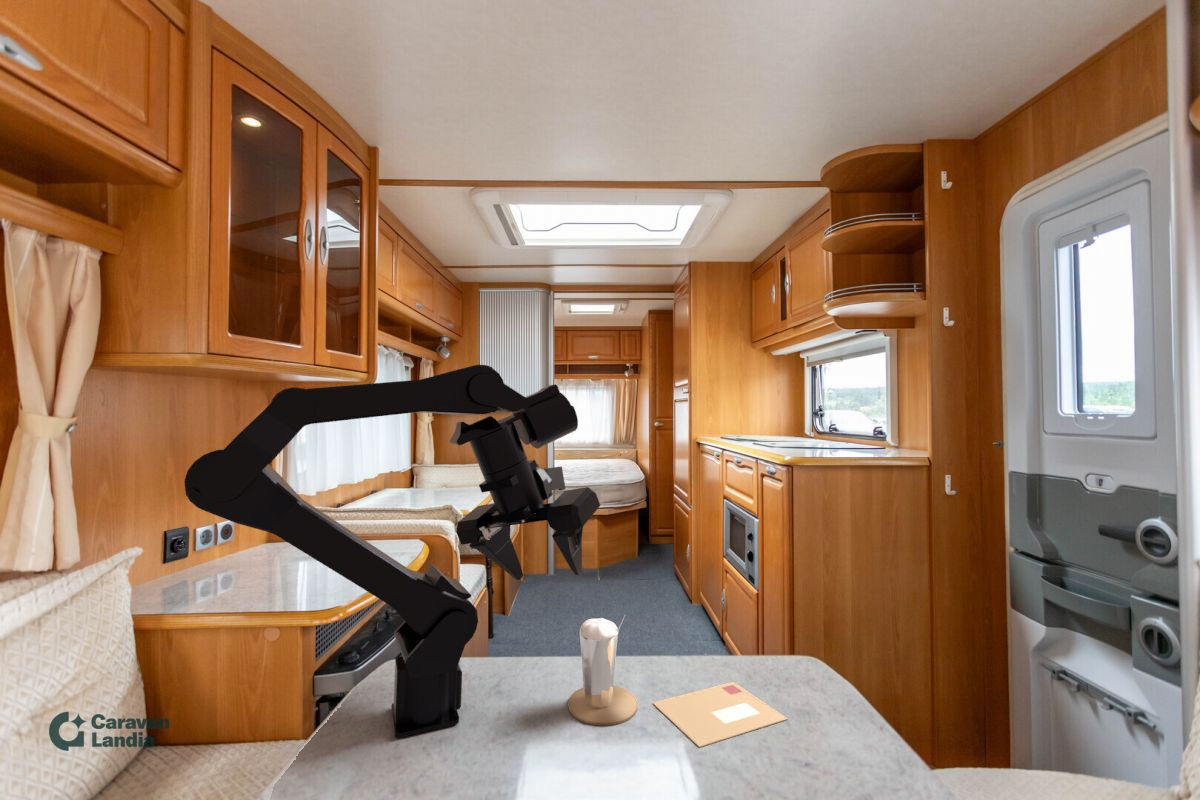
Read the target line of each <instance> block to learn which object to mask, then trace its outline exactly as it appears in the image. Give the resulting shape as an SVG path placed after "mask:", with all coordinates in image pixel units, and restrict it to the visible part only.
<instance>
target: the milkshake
mask: <svg viewBox="0 0 1200 800" xmlns="http://www.w3.org/2000/svg"><path fill="white" fill-rule="evenodd" d="M625 618H626V614H624V616H623V618H622V620H621V623H620V625H619V626H617V625H616V624H615V623H614V622H613V621H612V620H609V619H606V618H604V617H599V618H589V619H587V620H585V621H583V623H582V624H581V626H580V628H579V638H580V639H579V641H580V643H579V644H580V653H581V669H582V688H583V691H584V701H585V704H586V705H588V706H590V707H592V708H604V707H607V706H609V705H610V703H611V702H612V697H613V686H614V681H615V670H616V658H617V647H618V646H617V645H618V640H619V639H618V637H619V631H620V628H621V627H622V624H623V622H624V619H625Z"/></svg>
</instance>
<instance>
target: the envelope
mask: <svg viewBox="0 0 1200 800" xmlns="http://www.w3.org/2000/svg"><path fill="white" fill-rule="evenodd" d="M652 704H653V705H654V706H655V707H656V709H658V710H659V711H660V712H661V713H662V714H663V715H664V716H665V717H666V718H667V719H668V720H669V721H671V722H672V724H673V725H675V727H677V728H678V729H679V730H680V731H681V732H682V733H683V734H684V735H685V736H687V737H688V739H690V741H691V742H693V743H694V744H695V745H696V746H697V747H698V748H702V747H705V746H709V745H711V744H714V743H715V744H716V743H718V742H722V741H724V740H727V739H730V738H734V737H737V736H740V735H744V734H747V733H750V732H753V731H755V730H759V729H762V728H765V727H768V726H772V725H775V724H777V723H781V722H784V721H788V718H787V717H786V716H785V715H783V714H782V713H780V712H779V711H777V710H775V708H773V707H771V706H770V705H768V704H767V703H765V702H764V701H763V700H761V699H759V698H758V697H756V696H755V695H754V694H752V693H750V692H749V691H748V690H746V689H745V688H744V687H742V686H740V685H739V684H738V683H736V682H734V681H731V682H727V683H723V684H719V685H715V686H712V687H708V688H704V689H699V690H695V691H692V692H689V693H684V694H681V695H677V696H673V697H672V696H671V697H669V698H664V699H661V700H657V701H654V702H652Z"/></svg>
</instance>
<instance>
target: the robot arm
mask: <svg viewBox="0 0 1200 800" xmlns="http://www.w3.org/2000/svg"><path fill="white" fill-rule="evenodd" d="M509 412H510V413H511V412H512V414H510V415H508V416H505V417H503V418H501V419H496V418H495V417H493V416H491V415H489V416H486V417H484V418H482V419H480V420H477V421H474V422H472V423H470V424H468V423H467V422H465V421H458V422H456V426H455V430H454V432H453V434H452V436H451V437H450V438H449V442H450V444H452V445H457V446H463V445H464V444H467V443H469V444H470V448H471V449H472V452H473V454H474V456H475V459H476V462H477V465H478V467H479V469H480V471H481V474H482V476H483V479H484V480H483V481H482V482H481V483H480V484H479V485H478V486H479V489H480V492H481V493H487V492H489V493H490V497H491V499H492V501H493V503H488V504H482V505H477V506H476V507H474V508H473V510H471V511H469V512H468V513H467V514H466V515H464V516H463V517H462V518H460V520H459V521H457V525H456V530H455V533H456V535H457V538H458V540H459V543H460V544H461V545H468V544H469V545H468V546H469V548H470V549H472V550H477V551H478V552H479V553H481V554H482V555H484V556H485V557H487V558H488V559H489V560H491V561H492V562H493V563H494V564H496V565H497V566H498V567H500V568H501V569H503V571H504V572H506V573H507V574H509V575H510V576H511V577H512V578H513V579H514V580H516V581H521V579H522V578H523V577H524V573H523V568H522V566H521V562H520V560H519V557H518V555H517V552H516V549H515V547H514V544H513V541H512V539H511V526H516V525H522V524H523V525H524V524H529V523H537V522H542V521H543V522H544V521H547V523H548V525H549V527H550V528H551V529H552V530H554V531H555V532H554V533H552V535H551V537H552V539H553V542H555V544H556V546H557V548H558V549H559V551H560V553H561V555H562V557H563V558H564V560H565V562H566V563H567V565H568V566H569V569H570V570H571V571H572V573H573V574H574V576H576V577H577V576H580V574H582V570H583V531H584V526H585V525H586V523H587V522H588V521H589V520H590V519H591V518H592V516H593V515H594V514H595V513H596V512H597V510H599V508H600V506H601V502H600V501H599V497H598V495H597V493H596V491H595V490H593V489H592V488H590V487H589V486H585V487H580V488H575V489H574V488H573V489H567V488H566V484H565V483H566V482H565V478H564V473H563V466H554V467H546V468H540V466H539V463H538V462H537V461H536V459H532V460H531V459H530V460H529V459H528V456H527V454H526V451H525V448H524V445H526V446H528V445H531V446H532V447H533V448H535V449H537V450H538V449H540V448H542V447H544V446H546V445H549V444H551V443H553V442H555V441H557V440H559V439H561V438H564V437H566V436H567V435H569V434H571V433H573V432H576V431H577V430H578V427H579V420H578V415H577V411H576V408H575V406H574V405H572V404H571V402H570V401H569V399H568V398H567V397H566V395H564V393H562V392H561V391H560V389H559V387H558V385H557V384H556V383H554V384H549V385H547V386H545V387H543V388H541V389H539V390H538V391H537V392H535V393H534V392H533V393H532V394H529V395H526V396H524V395H523V394H521V393H520V392H518V391H516V390H515V389H513V388H512V387H510V386H508V385H507V384H506V383H504V380H503V378H502V376H501V375H500V373H499V372H498V371H497V370H495V368H493V366H490V365H487V364H474V365H472V366H471V365H470V366H467V367H464V368H459V369H455V370H450V371H447V372H444V373H440V374H437V375H432V376H429V377H424V378H422V379H421V378H420V379H415V380H414V379H413V380H401V381H400V380H399V381H398V380H397V381H387V382H376V383H375V382H374V383H363V384H362V383H361V384H350V385H339V386H326V387H313V388H301V387H294V386H293V387H288V388H284V389H282V390H281V391H278V392H277V393H276V394H275V396H274V397H273V398H272V399H271V402H270V403H269V404H268V405H267V407H265V408H264V409H263V410H262V412H260V413H259V414H258V415H257V416H256V417H255V418H254V419H252V421H251V422H250V423H249V424H248V425H247V426H245V427H244V428H243V429H242V430H241V432H239V433H238V434H237V435H235V438H233V439H232V440H231V442H230V443H229V444H227V445H226V446H225V447H224V448H219V449H216V450H213V451H210V452H208V453H206V454H203V455H202V456H200V457H199V458H197V459H196V460H194V462H193V463H192V464H191V465H190V467H189V468H188V470H187V471H186V475H185V477H184V489H185V490H184V491H185V495H186V497H187V499H188V500H189V501H190V503H191V504H193V505H194V506H195V507H196V508H198V509H199V510H201V511H204V512H206V513H209V514H211V515H215V516H217V517H219V518H222V519H225V520H227V521H229V522H232V523H235V524H238V525H241V526H245V527H249V528H252V529H257V530H260V531H262V532H266V533H269V534H272V535H275V536H276V537H278V538H280V539H281V540H282V541H285V542H287V544H289V545H291V546H293V547H295V548H296V549H297V550H299V551H301V552H302V553H304V554H306V555H307V556H309V557H311V558H313V560H315V561H317V562H319V563H320V564H322V565H324V566H325V567H327V568H329V569H330V570H332V571H333V572H335V573H337V574H338V575H340V576H342V577H343V578H345V579H346V580H348V581H350V582H351V583H353V584H354V585H356V586H358V587H360V588H361V589H362V590H364V591H366V592H367V593H369V594H371V595H373V596H374V597H376V598H377V599H379V600H380V601H382V602H384V603H386V605H387V604H388V605H389V606H390V607H391V608H392V609H393V610H394V611H395V612H396V613H397V614H398V615H399V616H400V617H401V618H402V619H403V622H402V623H400V625H399V626H398V627H397V629H395V630H394V632H393V636H394V639H395V641H396V644H397V647H398V649H399V651H400V653H401V656H398V657H395V662H394V663H395V664H394V682H393V683H394V689H393V703H392V704H391V718H392V727H393V736H394V738H398V739H399V738H403V737H408V736H411V735H412V736H413V735H417V734H420V733H425V732H429V731H435V730H437V729H441V728H447V727H450V726H451V727H452V726H454V725H458V724H459V723H460V715H459V713H458V710H461V707H462V693H463V692H462V690H463V689H462V686H463V671H462V668H461V666H460V660H461V657H462V655H463V652H464V649H465V646H466V645H467V644H468V643H469V642H470V641H471V639H472V638H473V637H474V635H475V633H476V630H477V627H478V625H479V623H478V622H479V617H478V610H477V609H476V607H475V606H474V604H473V603H472V602H471V601H470V600H469V599H470V598H471V597H472V594H471V593H470V592H469V591H468V590H467V589H466V587H464V586H463V584H461V582H459V580H458V579H457V578H452V577H448V576H446V575H445V574H444V573H442V572H441V571H440V569H438V567H436V566H435V565H434V564H433V563H430V564H429V566H428V568H427V570H426V572H425V573H423V572H419V571H416V570H413V569H410V568H408V567H407V566H405V565H403V564H401V562H399V561H397V560H396V559H394V558H393V557H391V556H390V555H388V554H387V553H386V552H383V551H382V550H380V549H379V548H378V547H376V546H374V545H372V544H371V543H370V542H368V541H367V540H365V539H364V538H362V537H361V536H359V535H357V534H356V533H355V532H354V531H351V530H350V529H349V528H347V527H346V526H344V525H342V523H340V522H338V521H336V520H334V519H333V518H332V517H330V516H328V515H327V514H326V513H325V512H323V511H321V510H319V509H318V508H317V507H315V506H313V505H312V504H310V503H309V502H308V501H306V500H305V499H303V498H302V497H301V496H300V495H299V494H298V492H296V491H295V490H294V488H293V487H292V486H291V485H290V484H289V483H288V482H287V481H286V480H285V479H284V478H283V477H282V475H280V474H279V472H278V471H276V470H275V469H274V468H273V467H272V466H271V463H272V462H273V461H274V460H275V459H276V458H277V457H278V456H279V454H281V452H282V451H283V450H284V449H285V448H286V447H287V446H288V445H289V443H290V442H291V441H292V440H293V439H294V438H295V437H296V436H297V435H298V434H299V432H300V431H301V430H302V429H303V428H304V427H306V426H309V425H315V424H323V423H332V422H341V421H349V420H350V421H351V420H358V419H359V420H360V419H368V418H377V417H386V416H387V417H388V416H394V415H395V416H396V415H404V414H413V413H425V414H426V413H428V414H439V415H440V414H441V415H455V416H456V415H459V416H477V415H487V414H490V413H495V414H498V413H499V414H500V413H509ZM523 444H524V445H523ZM566 489H567V490H566ZM556 490H557V491H563V492H562V493H561V494H560V495H559V496H558V497H557V498H556V499H555V500H554V501H553V502H549V503H546V502H545V501H546V500H548V499H550V498H551V497H552V496H553V495H554V493H553V491H556Z"/></svg>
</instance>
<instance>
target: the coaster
mask: <svg viewBox="0 0 1200 800" xmlns="http://www.w3.org/2000/svg"><path fill="white" fill-rule="evenodd" d="M567 703H568V704H567V706H568V711H569V712H570V714H571V715H572V716H573V717H574V718H575V719H577V720H578V721H580V722H582V723H585V724H589V725H593V726H600V727H601V726H604V727H605V726H616V725H619V724H622V723H625V722H627V721H629V720H631V719H632V718H633V717H634V716H635V715H636V713H637V711H638V700H637V697H636V696H635V695H634V694H633V693H632V692H631V691H630V690H628V689H625V688H624V687H620V686H617V685H613V697H612V702H611V703H610V705H609V706H607V707H604V708H592V707H590V706H588V705H586V704H585V701H584V691H583V687H581V688H579V689H577V690H575V691H574V692H573V693H571V695H570V696H569V698H568V702H567Z"/></svg>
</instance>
